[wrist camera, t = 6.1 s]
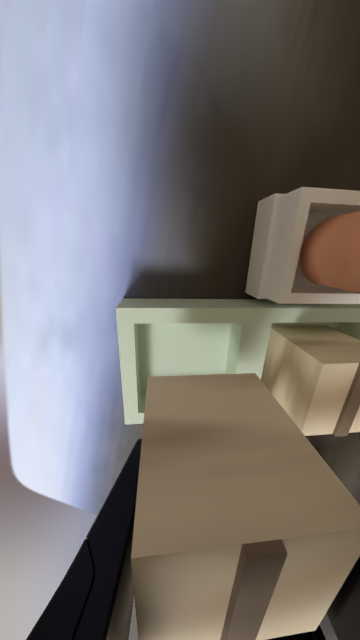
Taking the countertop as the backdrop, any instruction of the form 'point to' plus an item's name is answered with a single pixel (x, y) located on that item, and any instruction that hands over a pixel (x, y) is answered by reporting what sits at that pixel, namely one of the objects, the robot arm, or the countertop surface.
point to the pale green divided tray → (207, 338)
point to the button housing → (294, 245)
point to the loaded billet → (315, 378)
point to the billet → (234, 516)
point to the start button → (333, 253)
